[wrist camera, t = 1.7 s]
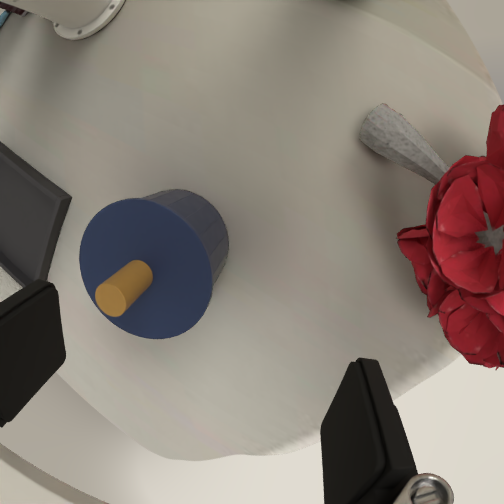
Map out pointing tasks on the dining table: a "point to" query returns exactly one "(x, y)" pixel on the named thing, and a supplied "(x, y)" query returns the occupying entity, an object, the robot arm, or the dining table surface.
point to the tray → (28, 219)
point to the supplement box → (12, 9)
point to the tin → (200, 222)
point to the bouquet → (454, 233)
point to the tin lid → (146, 268)
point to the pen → (3, 16)
